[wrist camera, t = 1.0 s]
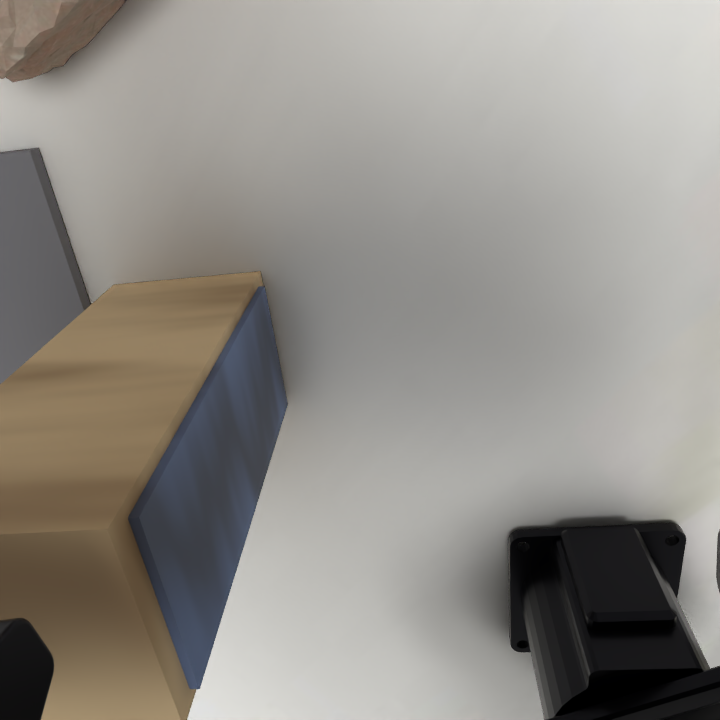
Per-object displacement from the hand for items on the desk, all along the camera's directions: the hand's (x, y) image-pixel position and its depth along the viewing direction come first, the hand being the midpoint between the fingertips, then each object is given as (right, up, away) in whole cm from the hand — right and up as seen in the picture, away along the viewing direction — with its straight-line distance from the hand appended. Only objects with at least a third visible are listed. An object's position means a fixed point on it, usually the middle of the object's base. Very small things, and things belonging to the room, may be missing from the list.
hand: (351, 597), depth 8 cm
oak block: (-5, +4, +14) cm, 15 cm away
